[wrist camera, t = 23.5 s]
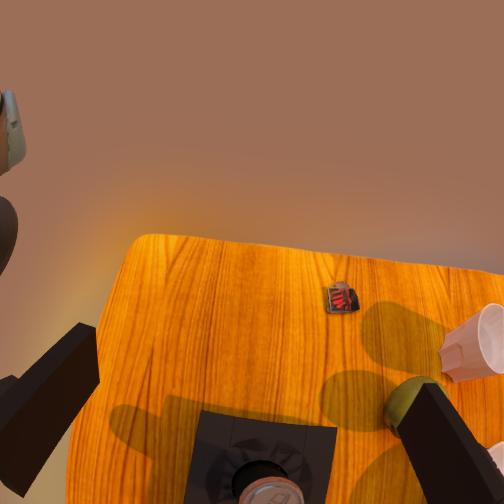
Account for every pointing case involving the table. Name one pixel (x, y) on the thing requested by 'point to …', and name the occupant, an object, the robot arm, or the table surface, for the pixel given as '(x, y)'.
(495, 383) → the table surface
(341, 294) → the matchbox
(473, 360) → the cup
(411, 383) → the apple
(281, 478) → the beer can
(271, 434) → the socket pad
